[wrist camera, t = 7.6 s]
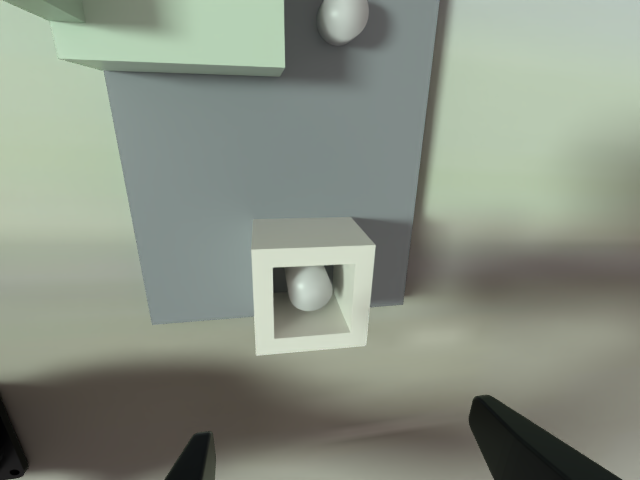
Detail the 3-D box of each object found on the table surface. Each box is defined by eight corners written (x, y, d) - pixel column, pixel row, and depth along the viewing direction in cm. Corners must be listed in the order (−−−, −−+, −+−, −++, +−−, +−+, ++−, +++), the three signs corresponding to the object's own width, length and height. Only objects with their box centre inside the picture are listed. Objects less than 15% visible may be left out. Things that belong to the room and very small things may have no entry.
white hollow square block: (345, 300, 19) (366, 345, 15) (256, 306, 18) (256, 355, 15) (350, 216, 17) (375, 245, 14) (252, 219, 17) (251, 249, 13)
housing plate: (396, 296, 21) (426, 335, 17) (157, 314, 18) (132, 364, 15) (444, -130, 14) (511, -219, 10) (66, -186, 11) (-25, -328, 8)
